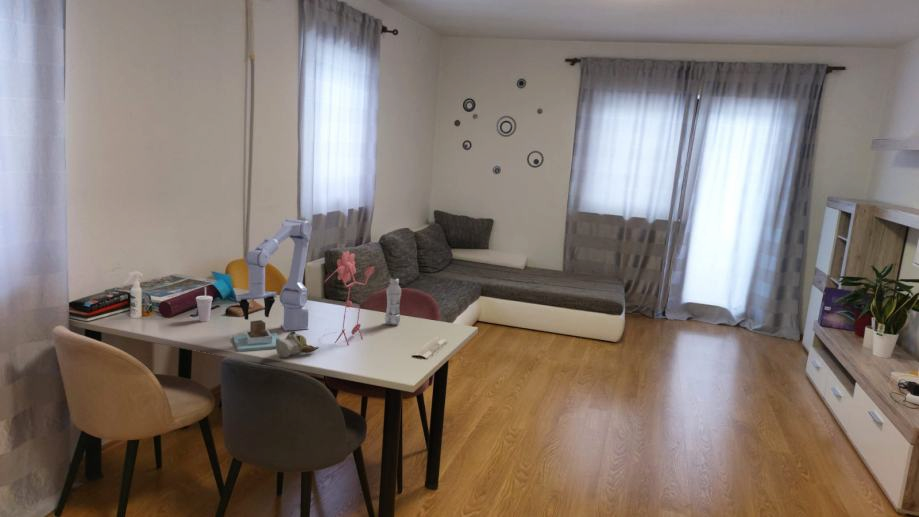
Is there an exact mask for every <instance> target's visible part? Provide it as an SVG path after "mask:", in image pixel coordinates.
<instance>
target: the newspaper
mask: <svg viewBox="0 0 919 517" xmlns="http://www.w3.org/2000/svg"><path fill="white" fill-rule="evenodd" d="M444 342H445V343H446V342H447V340H446V339H445V338H443V337H439V336H437V337H436V336H435V337H432V338H431V339H430V340H429V341H427V342H426V343H424V344H423V345H422V346H421V347H420V348H418V349H417V350H416V351H415V352H414V353H413V354H411V356H412V357H415V356H421V357H423V358H425V359H429V358H430V357H431V356H432V355H433V354H434V353H435V352H436V351H437V350H439V349H440V348H441V347H440V346H441V345H442V344H443V345H444V344H445V343H444ZM443 345H442V346H443ZM439 347H440V348H439ZM412 357H411V358H412Z"/></svg>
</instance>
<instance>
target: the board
mask: <svg viewBox="0 0 919 517" xmlns="http://www.w3.org/2000/svg"><path fill="white" fill-rule="evenodd" d="M270 334H271V335H272V343H266V344H253V345H247V342H246V340H245V338H244V334H238V335H237V334H236V335H232V339H233V342H234V344H235V347H236V349H237V352H238V353H240V352H251V351H262V350H265V351H266V350H274V349H275V350H276V339H277V338H278V339H281V337H280V336H279V334H278V333H277V332H270Z"/></svg>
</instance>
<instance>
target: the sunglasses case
mask: <svg viewBox="0 0 919 517" xmlns="http://www.w3.org/2000/svg"><path fill="white" fill-rule="evenodd" d="M247 301H248V303H249V309H248V316H249V315H251V314H254V313H257V312H260V311H263V310H264V311H265V306H263V305H262V304H260V303H259V302H257V301H255V299H252V300H247ZM224 313H225V316H229V317H236V318H244V314H243V310H242V308H241V306H240V304H239V303H238V304H235V305H229V306H227V307H226V309H225V311H224Z"/></svg>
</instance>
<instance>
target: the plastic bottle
mask: <svg viewBox="0 0 919 517" xmlns="http://www.w3.org/2000/svg"><path fill="white" fill-rule="evenodd" d="M389 283H390V284H389V285H388V287H387V288H386V313H385V315H384V316H385V317H384V322H385V324H386V325H389V326H396V325H398V324H400V320H401V314H400V303H401V298H402V297H401V296H402V288H401V286H400V285H399V284H400V279H399V278H398V277H391V278H390V279H389Z"/></svg>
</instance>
